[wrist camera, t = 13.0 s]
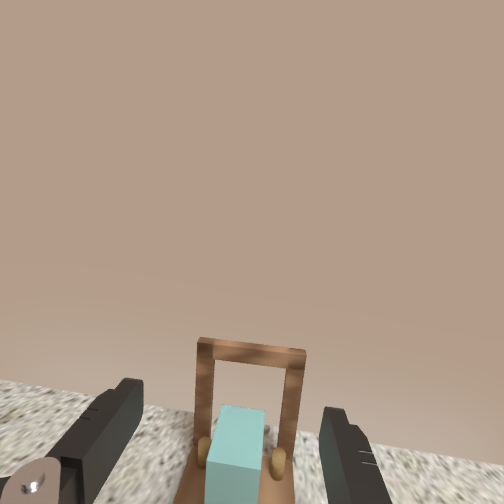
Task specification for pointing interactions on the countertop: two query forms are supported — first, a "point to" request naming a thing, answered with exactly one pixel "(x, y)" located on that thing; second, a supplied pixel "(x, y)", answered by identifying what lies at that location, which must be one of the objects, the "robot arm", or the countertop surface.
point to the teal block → (235, 457)
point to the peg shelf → (193, 481)
